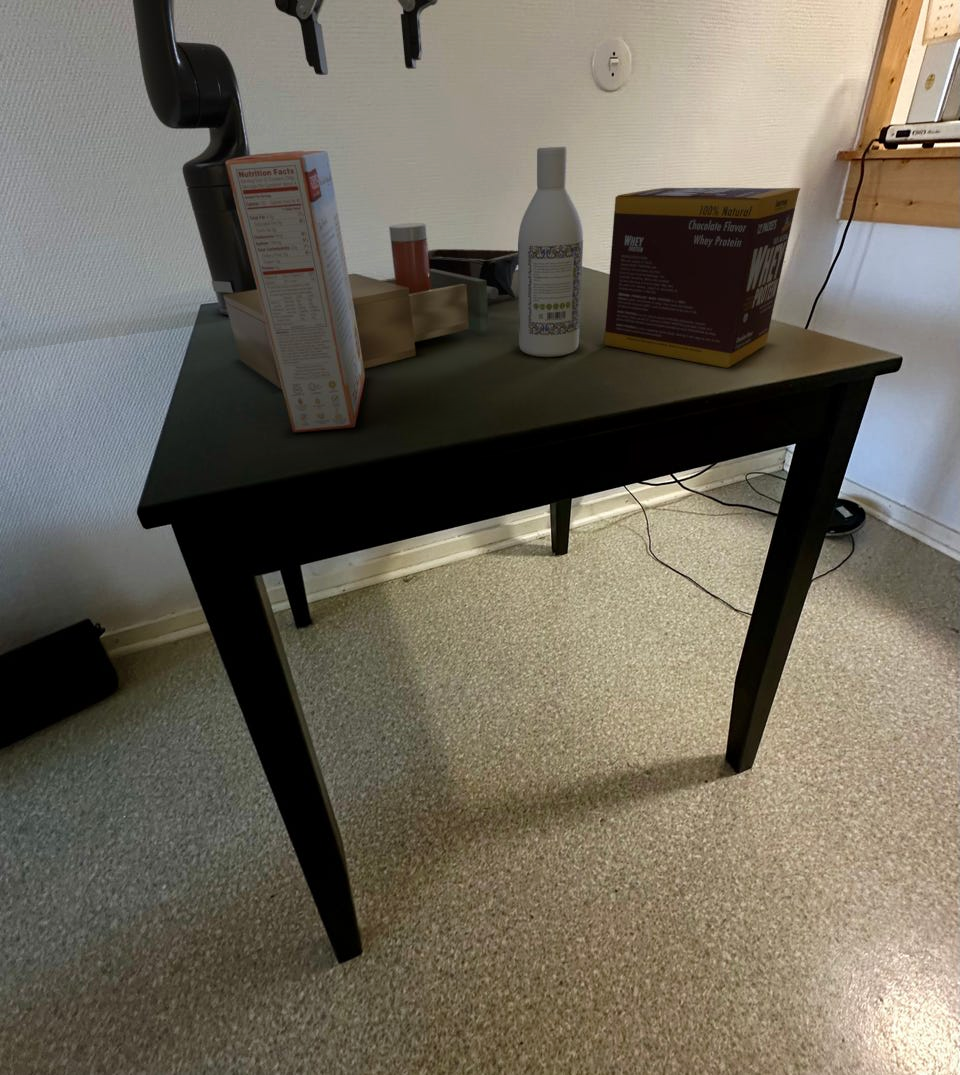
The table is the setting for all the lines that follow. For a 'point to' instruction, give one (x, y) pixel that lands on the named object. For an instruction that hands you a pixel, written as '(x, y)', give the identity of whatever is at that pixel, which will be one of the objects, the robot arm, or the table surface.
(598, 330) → the table surface
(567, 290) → the bath foam
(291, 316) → the cracker box
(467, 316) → the drawer
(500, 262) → the baking dish
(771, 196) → the supplement box
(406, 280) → the salt shaker
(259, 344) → the cabinet
